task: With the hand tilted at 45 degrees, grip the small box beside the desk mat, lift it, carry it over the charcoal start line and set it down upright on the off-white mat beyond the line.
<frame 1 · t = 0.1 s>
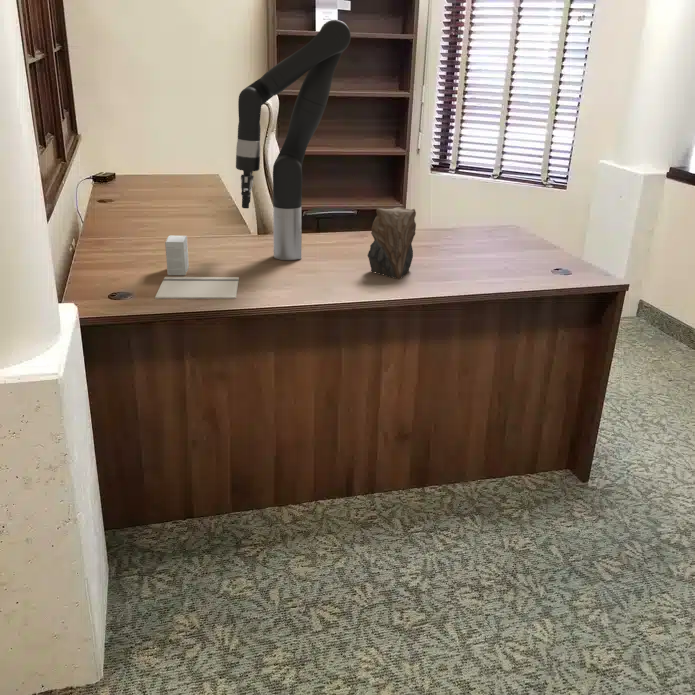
hand: (246, 205, 223), 17 cm above the table, tool pointing down, fingers open, 8 cm apart
small box: (178, 272, 212), on the table
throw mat: (199, 288, 199), on the table
owl: (391, 273, 219), on the table
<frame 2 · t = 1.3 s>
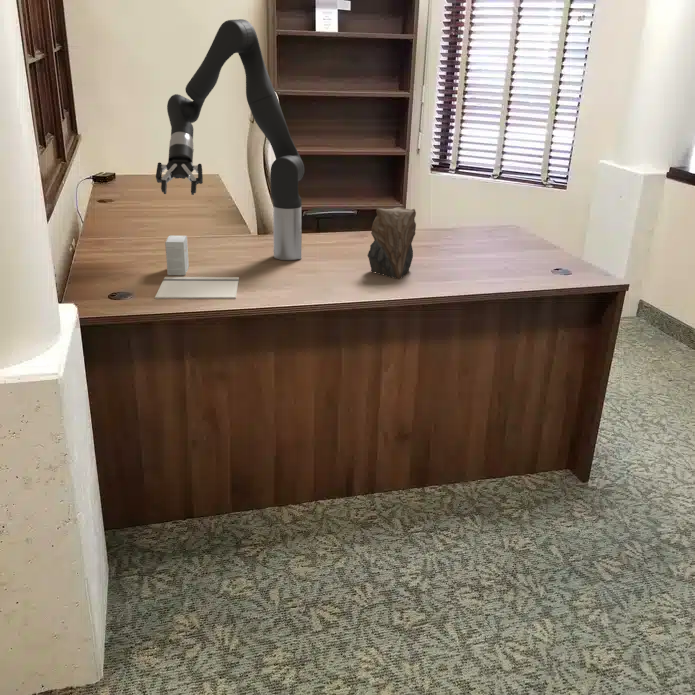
hand: (178, 193, 214), 22 cm above the table, tool tilted 45°, fingers open, 8 cm apart
nothing on the table moved.
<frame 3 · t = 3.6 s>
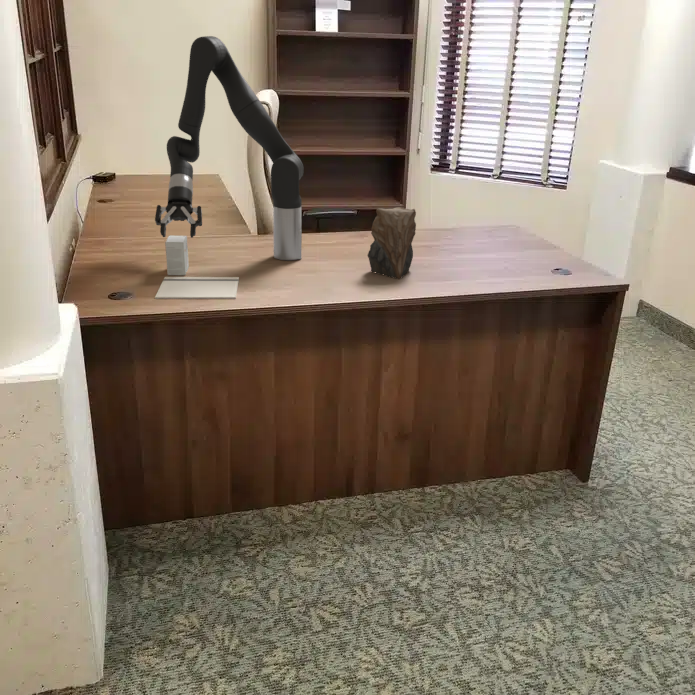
hand: (177, 236, 213), 10 cm above the table, tool tilted 45°, fingers open, 8 cm apart
nothing on the table moved.
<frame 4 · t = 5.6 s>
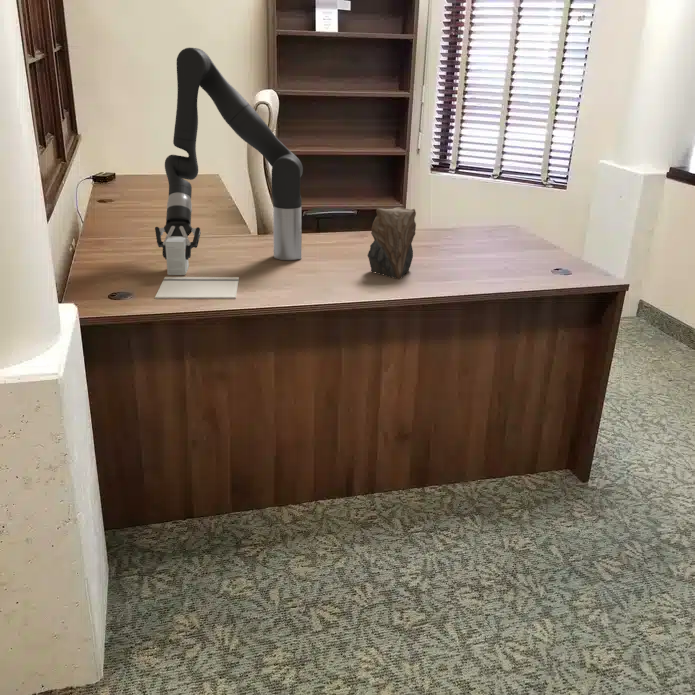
hand: (176, 258, 209), 5 cm above the table, tool tilted 45°, fingers closed on small box, 5 cm apart
small box: (178, 272, 212), on the table, touching gripper
everything else where it was.
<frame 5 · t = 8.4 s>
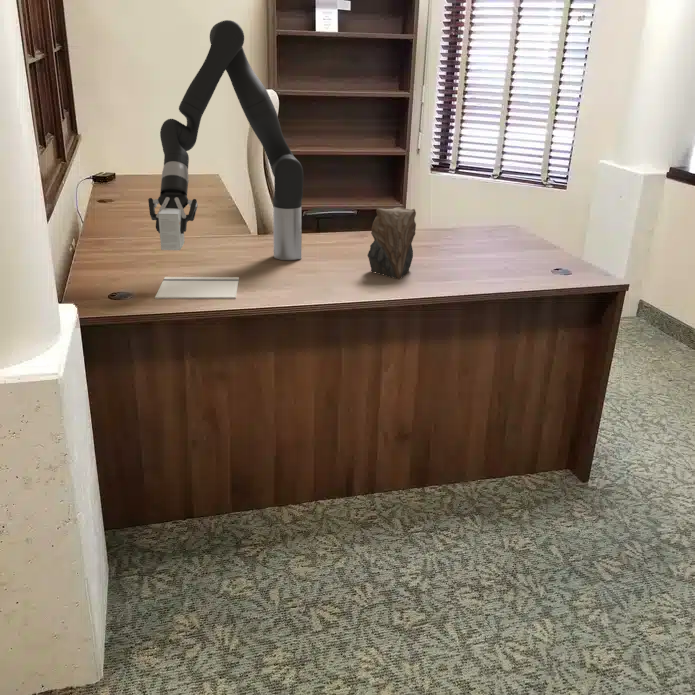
hand: (170, 231, 193), 16 cm above the table, tool tilted 45°, fingers closed on small box, 5 cm apart
small box: (173, 247, 197), point 11 cm above the table, touching gripper
everything else where it was.
when the fingers open (6 cm above the table, at t = 11.0 s): small box drops 1 cm, resting on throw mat.
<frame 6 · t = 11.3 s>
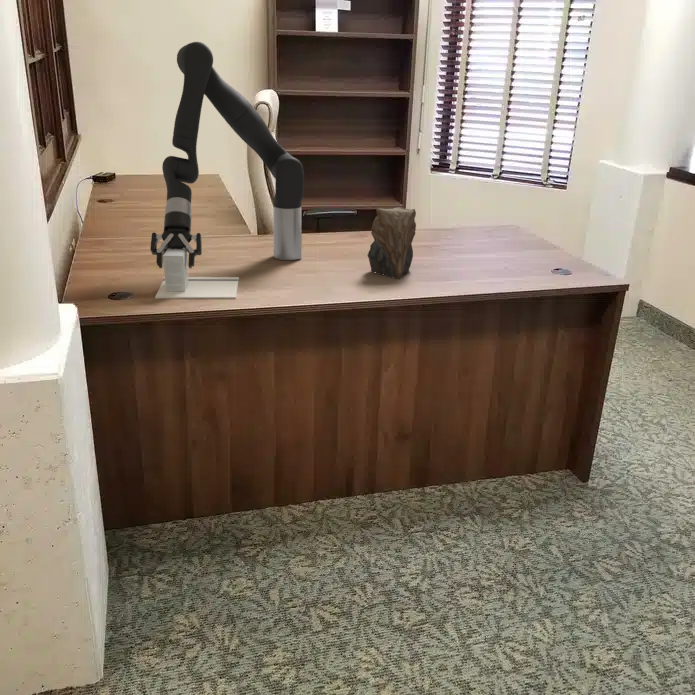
hand: (175, 266, 193), 7 cm above the table, tool tilted 45°, fingers open, 8 cm apart
small box: (177, 287, 197), resting on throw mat
everything else where it was.
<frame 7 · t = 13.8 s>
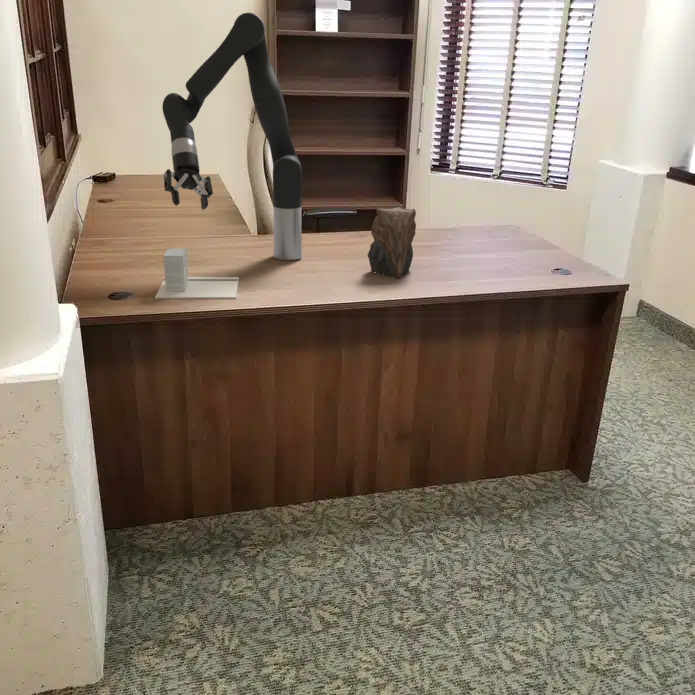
hand: (191, 206, 201), 21 cm above the table, tool tilted 40°, fingers open, 8 cm apart
nothing on the table moved.
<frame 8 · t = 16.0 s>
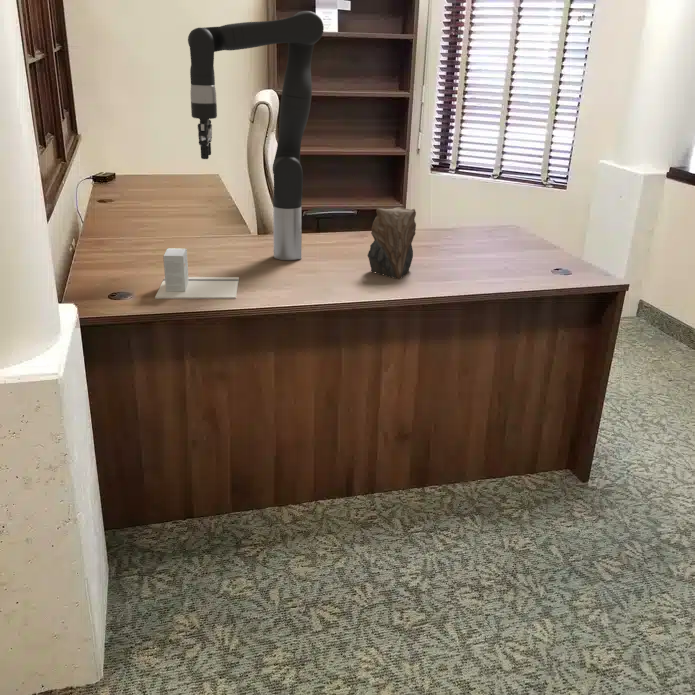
hand: (206, 156, 211), 33 cm above the table, tool pointing down, fingers open, 8 cm apart
nothing on the table moved.
at the end: small box inside the target area (1.4 cm from its centre), resting on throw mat; small box tilted 0°; the gripper is holding nothing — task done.
